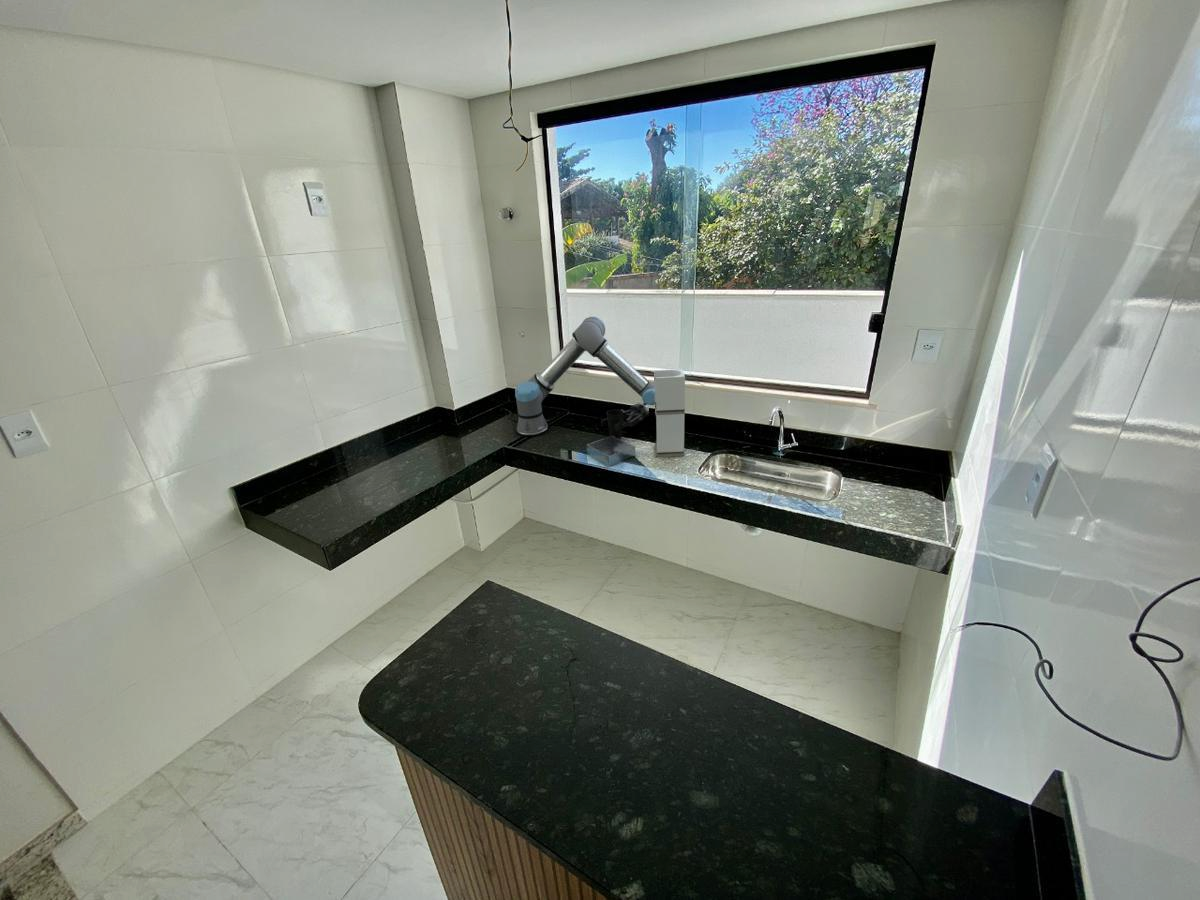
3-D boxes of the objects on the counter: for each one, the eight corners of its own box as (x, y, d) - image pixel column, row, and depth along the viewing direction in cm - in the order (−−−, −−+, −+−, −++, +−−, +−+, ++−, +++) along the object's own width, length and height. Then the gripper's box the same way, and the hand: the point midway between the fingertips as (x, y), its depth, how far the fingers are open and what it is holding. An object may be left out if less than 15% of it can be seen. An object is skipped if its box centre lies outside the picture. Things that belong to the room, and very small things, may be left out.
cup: (624, 432, 228) (623, 409, 223) (623, 439, 221) (622, 415, 216) (608, 433, 229) (607, 409, 224) (607, 439, 222) (605, 415, 217)
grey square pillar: (680, 445, 216) (681, 368, 201) (683, 455, 206) (685, 376, 191) (655, 446, 216) (654, 370, 201) (656, 456, 207) (656, 378, 192)
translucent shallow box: (587, 453, 214) (586, 444, 212) (612, 444, 221) (611, 435, 219) (609, 466, 202) (608, 456, 200) (635, 455, 209) (634, 446, 207)
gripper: (657, 422, 229) (625, 439, 214) (624, 413, 242) (592, 428, 227) (657, 407, 225) (624, 423, 211) (623, 399, 239) (591, 413, 224)
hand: (608, 425), depth 219 cm, fingers closed on cup, 8 cm apart
